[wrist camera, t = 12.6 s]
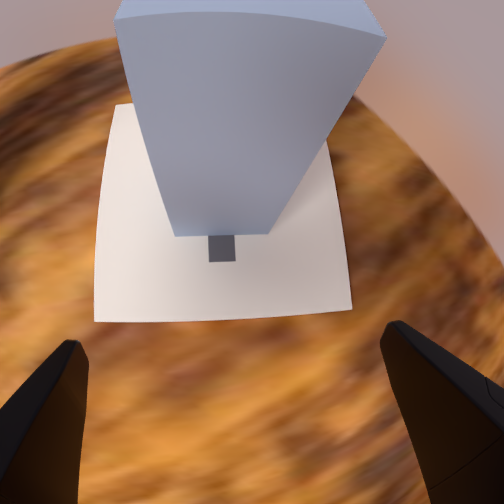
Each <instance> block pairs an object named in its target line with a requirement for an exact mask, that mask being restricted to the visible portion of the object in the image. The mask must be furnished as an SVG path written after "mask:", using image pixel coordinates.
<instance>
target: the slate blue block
mask: <svg viewBox="0 0 504 504" xmlns="http://www.w3.org/2000/svg"><path fill="white" fill-rule="evenodd" d="M113 21H114V25H115V30H116V34H117V39H118V44H119V48H120V53H121V57H122V61H123V65H124V69H125V73H126V77H127V81H128V85H129V89H130V93H131V97H132V101H133V104H134V108H135V112H136V115H137V119H138V122H139V126H140V129H141V133H142V136H143V140H144V143H145V146H146V150H147V153H148V156H149V160H150V163H151V166H152V169H153V173H154V176H155V179H156V182H157V185H158V188H159V191H160V194H161V197H162V200H163V203H164V206H165V209H166V212H167V215H168V218H169V221H170V224H171V227H172V230H173V233H174V235H175V237H183V236H215V235H254V234H268V233H269V232H270V230H271V229H272V227H273V225H274V224H275V222H276V220H277V219H278V217H279V216H280V214H281V212H282V211H283V209H284V207H285V206H286V204H287V202H288V201H289V199H290V198H291V196H292V194H293V193H294V191H295V189H296V188H297V186H298V184H299V183H300V181H301V180H302V178H303V176H304V175H305V173H306V171H307V170H308V168H309V166H310V165H311V163H312V162H313V160H314V158H315V157H316V155H317V153H318V152H319V150H320V148H321V147H322V145H323V143H324V142H325V140H326V139H327V137H328V135H329V134H330V132H331V130H332V129H333V127H334V125H335V124H336V122H337V120H338V119H339V117H340V115H341V114H342V112H343V111H344V109H345V107H346V106H347V104H348V102H349V101H350V99H351V97H352V96H353V94H354V92H355V91H356V89H357V87H358V86H359V84H360V82H361V81H362V79H363V77H364V76H365V74H366V72H367V71H368V69H369V68H370V66H371V64H372V63H373V61H374V59H375V57H376V56H377V54H378V53H379V51H380V49H381V48H382V46H383V44H384V43H385V41H386V39H387V37H386V35H385V33H384V32H383V30H382V28H381V27H380V25H379V23H378V22H377V20H376V19H375V17H374V15H373V14H372V12H371V11H370V9H369V8H368V6H367V5H366V3H365V2H364V0H123V2H122V3H121V5H120V7H119V9H118V11H117V13H116V15H115V18H114V19H113Z"/></svg>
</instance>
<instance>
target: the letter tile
mask: <svg viewBox="0 0 504 504" xmlns="http://www.w3.org/2000/svg"><path fill="white" fill-rule="evenodd" d="M344 310H352V302H351V292H350V282H349V274H348V265H347V258H346V250H345V243H344V236H343V229H342V222H341V216H340V210H339V204H338V198H337V192H336V187H335V181H334V176H333V171H332V166H331V161H330V156H329V151H328V146H327V141H326V140H325V142H324V143H323V145H322V147H321V148H320V150H319V152H318V153H317V155H316V157H315V158H314V160H313V162H312V163H311V165H310V166H309V168H308V170H307V171H306V173H305V175H304V176H303V178H302V180H301V181H300V183H299V184H298V186H297V188H296V189H295V191H294V193H293V194H292V196H291V198H290V199H289V201H288V202H287V204H286V206H285V207H284V209H283V211H282V212H281V214H280V216H279V217H278V219H277V220H276V222H275V224H274V225H273V227H272V229H271V230H270V232H269V233H268V234H254V235H215V236H183V237H175V235H174V233H173V230H172V227H171V224H170V221H169V218H168V215H167V212H166V209H165V206H164V203H163V200H162V197H161V194H160V191H159V188H158V185H157V182H156V179H155V176H154V173H153V169H152V166H151V163H150V160H149V156H148V153H147V150H146V146H145V143H144V140H143V136H142V133H141V129H140V126H139V122H138V119H137V115H136V112H135V108H134V104H133V103H130V104H121V105H116V107H115V112H114V116H113V121H112V126H111V131H110V136H109V141H108V146H107V152H106V158H105V164H104V171H103V178H102V185H101V193H100V202H99V211H98V222H97V234H96V249H95V272H94V322H183V321H212V320H233V319H251V318H266V317H280V316H292V315H304V314H315V313H325V312H335V311H344Z"/></svg>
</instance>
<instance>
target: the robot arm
mask: <svg viewBox="0 0 504 504" xmlns="http://www.w3.org/2000/svg"><path fill="white" fill-rule="evenodd" d="M380 349H381V352H382V355H383V359H384V362H385V366H386V369H387V373H388V377H389V380H390V384H391V387H392V390H393V393H394V395H395V398H396V400H397V403H398V406H399V408H400V411H401V414H402V416H403V419H404V422H405V425H406V427H407V430H408V433H409V436H410V439H411V442H412V445H413V447H414V450H415V453H416V456H417V459H418V462H419V466H420V469H421V472H422V475H423V478H424V481H425V485H426V488H427V491H428V495H429V499H430V502H431V504H504V389H503V388H502V387H500V386H499V385H497V384H496V383H494V382H493V381H491V380H490V379H488V378H487V377H484V375H483V374H481V373H480V372H478V371H477V370H475V369H474V368H472V367H471V366H469V365H468V364H466V363H465V362H463V361H462V360H460V359H459V358H457V357H456V356H454V355H453V354H451V353H450V352H448V351H447V350H445V349H444V348H442V347H441V346H439V345H438V344H436V343H435V342H433V341H432V340H430V339H429V338H427V337H426V336H424V335H423V334H421V333H420V332H418V331H417V330H415V329H413V328H412V327H410V326H409V325H407V324H406V323H404V322H403V321H401V320H397V321H391V322H389V323H388V324H387V325H386V328H385V330H384V333H383V335H382V337H381V340H380ZM88 372H89V361H88V358H87V356H86V354H85V351H84V349H83V347H82V345H81V343H80V342H79V341H78V340H69V339H67V340H65V341H64V342H63V343H62V344H61V345H60V346H59V347H58V348H57V349H56V350H55V351H54V352H53V353H52V354H51V355H50V356H49V357H48V358H47V359H46V360H45V361H44V362H43V363H42V364H41V365H40V366H39V367H38V368H37V369H36V370H35V371H34V372H33V373H32V375H31V376H30V377H29V378H28V379H27V380H26V381H25V382H24V383H23V384H22V385H21V386H20V387H19V389H18V390H17V391H16V392H15V393H14V394H13V395H12V396H11V397H10V398H9V400H8V401H7V402H6V403H5V404H4V405H3V406H2V407H1V409H0V504H78V484H79V470H80V458H81V449H82V440H83V432H84V424H85V417H86V405H87V386H88Z"/></svg>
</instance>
